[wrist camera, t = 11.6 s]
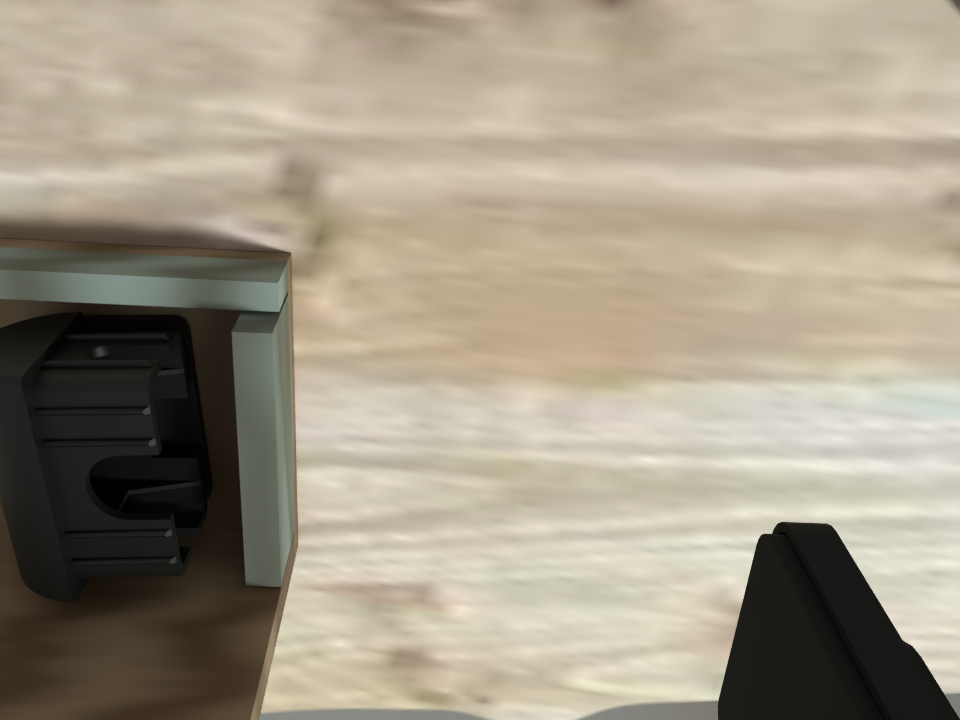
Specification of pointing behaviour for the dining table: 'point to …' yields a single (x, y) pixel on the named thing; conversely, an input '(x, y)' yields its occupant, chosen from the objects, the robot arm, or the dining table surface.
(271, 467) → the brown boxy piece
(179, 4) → the dining table surface
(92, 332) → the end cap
